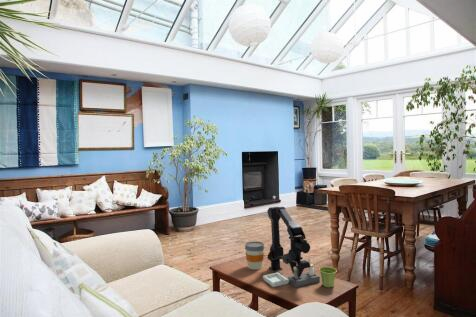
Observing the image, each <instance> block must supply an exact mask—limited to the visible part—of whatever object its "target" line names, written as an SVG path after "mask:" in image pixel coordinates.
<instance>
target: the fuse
mask: <svg viewBox="0 0 476 317" xmlns="http://www.w3.org/2000/svg"><path fill="white" fill-rule="evenodd" d="M314 267H315V266H314V264H313V263H310V267H309V268H307V270H308V272H307V273H308V276H309V277H313V276H314V274H315V273H314V271H315V268H314Z"/></svg>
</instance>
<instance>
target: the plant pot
mask: <svg viewBox="0 0 476 317" xmlns="http://www.w3.org/2000/svg"><path fill="white" fill-rule="evenodd" d="M318 270H319V273H320V279H321V282H322V283H321V284H322V286H323V287H324V288H333V287H334V286H335V279H336V278H335V277H336V273H337V272H338V270H337V269H336V268H335V267H331V266H323V267H322V266H321V267H320V268H318Z"/></svg>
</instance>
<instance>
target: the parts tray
mask: <svg viewBox="0 0 476 317" xmlns="http://www.w3.org/2000/svg"><path fill="white" fill-rule="evenodd" d="M262 280H263V281H264V282H266V283H267V284H268V285H270V286H271V287H272V288H275V287H281V286H283V285H288V284H290V283H289V280H288V277H285V276H284V275H282V273H279V272H274V273H273V272H272V273H268V274H263V275H262Z"/></svg>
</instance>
